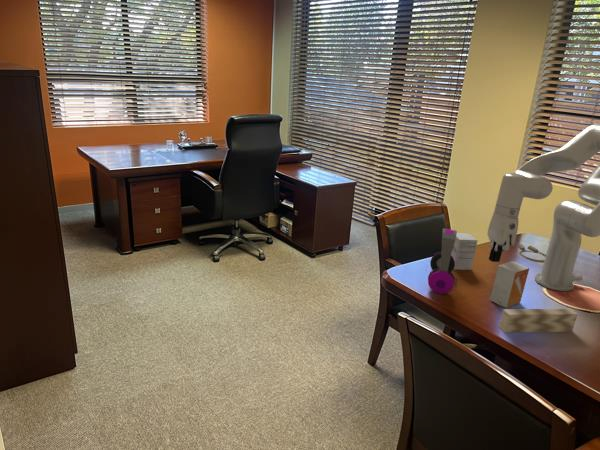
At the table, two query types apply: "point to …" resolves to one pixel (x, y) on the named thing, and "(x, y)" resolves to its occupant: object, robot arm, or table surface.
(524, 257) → the extension cord
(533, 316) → the birch board
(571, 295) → the table surface
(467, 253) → the supplement box
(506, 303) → the small box
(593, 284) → the table surface
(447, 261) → the headphones
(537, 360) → the table surface
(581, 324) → the table surface
